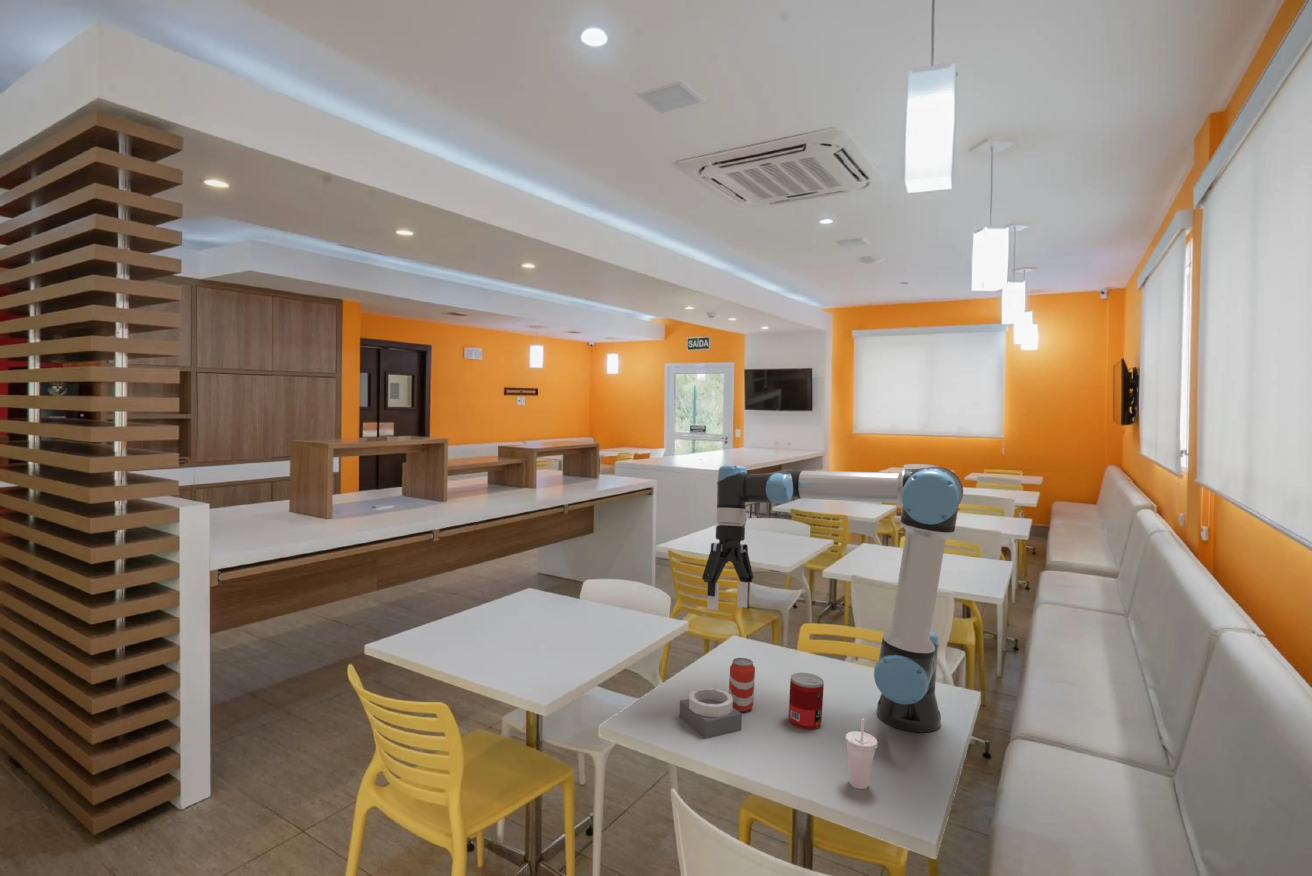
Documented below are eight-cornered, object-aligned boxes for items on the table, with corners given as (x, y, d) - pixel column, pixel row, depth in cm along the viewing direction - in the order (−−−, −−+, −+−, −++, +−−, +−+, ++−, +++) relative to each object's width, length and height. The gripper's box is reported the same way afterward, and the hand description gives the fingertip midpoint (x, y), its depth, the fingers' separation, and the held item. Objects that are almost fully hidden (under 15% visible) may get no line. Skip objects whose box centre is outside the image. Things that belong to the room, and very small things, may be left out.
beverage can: (734, 714, 169) (736, 667, 169) (724, 703, 176) (727, 657, 175) (756, 712, 171) (758, 665, 170) (746, 701, 177) (748, 656, 177)
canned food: (822, 731, 162) (824, 686, 161) (788, 727, 164) (790, 682, 163) (820, 717, 170) (823, 674, 169) (788, 713, 171) (790, 670, 171)
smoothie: (844, 790, 137) (848, 723, 137) (841, 773, 144) (844, 709, 143) (877, 794, 136) (881, 727, 136) (872, 777, 143) (876, 712, 142)
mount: (741, 730, 161) (743, 703, 161) (704, 738, 156) (706, 711, 156) (714, 709, 172) (715, 683, 171) (678, 716, 167) (679, 690, 166)
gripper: (743, 526, 188) (741, 604, 185) (690, 522, 170) (686, 609, 166) (767, 527, 184) (765, 607, 181) (715, 523, 165) (712, 612, 162)
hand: (727, 608), depth 174 cm, fingers open, 13 cm apart
